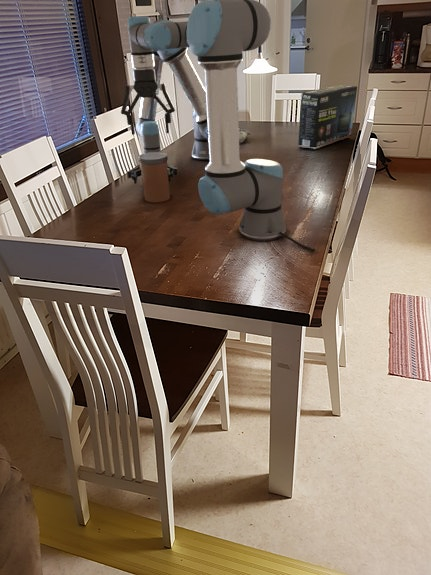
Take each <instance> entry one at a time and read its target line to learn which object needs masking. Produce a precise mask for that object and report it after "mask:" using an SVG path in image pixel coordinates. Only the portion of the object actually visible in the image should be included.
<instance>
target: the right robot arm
mask: <svg viewBox="0 0 431 575" xmlns="http://www.w3.org/2000/svg"><path fill="white" fill-rule="evenodd" d="M271 30H272V19H271V15H270V12H269V11H268V8H266V7H265V5H264V4H263V3H261V2H260V1H257V0H203V1H200V2H198V3H196V4H195V5H194V6H193V7H192V9H191V11H190V13H189V16H188V20H187V21H172V22H167V23H153V22H151V18H150V17H149V16H148V15H147V16H146V15H144V16H141V15H140V16H129V17H128V18H127V32H128V41H129V48H130V56H131V57H130V58H131V65H132V66H131V67H132V68H133V70H132V75H133V85H131V84H126V85H125V95H124V98H123V102H122V107H121V110H120V114H122V115H124V116H126V122H127V125H128V126H130V129H131V136H135V135H136V128H135V122H134V115H133V114H131V113H132V111H133V110H134V108H135V106H136V105H137V104H138V101H139V99H141V97H142V98H146V97H148V98H151V97H154V99H156V101H157V102H158V103H157V104H158V105H159V106H160V107H161V108H162V109H163V111H164V112H165V114H164V121H165V122H164V123H165V132H166V134H169V133H170V128H169V126H170V125H169V124H171V122H172V114H173V113H175V112H176V108H175V105H174V103H173V102H172V99H171V97H170V95H169V93H168V91H167V87H166V83H165V82H163V83H160V84H157V83H156V76H155V70H154V69H153V67H154V54H153V50H154V51H162V50H165V49H176V48H187V49H188V48H189V51H190V52H191V53H192V54H193V55H194V56H196V57H197V63H198V65H199V66H200V67H201V68H202V69H203V71H204V72H203V73H204V74H203V75H204V89H205V90H206V106H207V123H208V139H209V156H210V161H208V163H207V165H205V167H204V172H205V174H204V176H202V177H201V178H200V179H199V181H198V184H197V189H198V190H197V191H198V194H199V197H200V200H201V202H202V204H203V206H204V207H205V209H206V210H207V211H208V212H209V213H211V214H212V215H215V216H219V215H224V214H226V215H227V214H230V213H232V212H236V211H240V210H243V209H244V211H243V213H242V216H241V218H240V219H241V220H240V221H239V226H238V232H239V235H240V236H241V237H242V238H244V239H247V240H250V241H254V242H271V241H277V240H279V239H281V238H283V237H284V238H286V239H288V240H289V241H291V242H292V243H293V244H296V245H297V246H299V247H300V248H304V249H305V250H309V251H311V252H315V251H316V249H315V248H313V247H310V246H308V245H305V244H303V243H300V242H298V241H297V240H296V239H294V238H292V237H291V236H289V235H287V223H286V221H285V216H284V214H283V210H282V200H283V183H284V174H283V173H284V172H283V171H284V169H283V166H282V164H280V162H278V161H274V160H270V159H265V158H250V159H246V160H245V161H244V162H243V161H241V157H240V156H241V155H240V152H241V151H240V144H239V128H240V123H239V122H240V121H239V118H240V117H239V88H238V67H239V66H240V65H241V63H242V62H243V60H244V55H243V52H249V51H253V50H256V49H258V48H260V47H261V46H263V44H265V42H266V41H267V40H268V38H269V36H270V34H271ZM157 88H159V89H160V90H159V91H161V92H162V94H163V96H164V98H165V100H166V103H167V104H168V106H167V104H165V102H164V101H163V100H162V98H161V97H160V96H158V94H157V93H156V90H157ZM133 90H134V92H136V93H137V94H136V95H135V97H134V99H133V101H132V102H131V104H130V106H129V107H128V103H129V99H130V96H131V92H133ZM127 107H128V109H127Z"/></svg>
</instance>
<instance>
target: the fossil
mask: <svg viewBox="0 0 431 575" xmlns="http://www.w3.org/2000/svg"><path fill="white" fill-rule="evenodd" d="M248 135H250V136H251V132H250V130H248V129H245V128H243V129H242V128H240V127H239V141H243V142H245V141H246V140H247V138H248V137H247V136H248ZM245 139H246V140H245ZM244 140H245V141H244ZM241 144H242V142H239V145H241Z"/></svg>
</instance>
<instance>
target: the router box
mask: <svg viewBox="0 0 431 575" xmlns="http://www.w3.org/2000/svg"><path fill="white" fill-rule="evenodd" d="M357 93H358V86H356V85H350V84H339V85H338V84H337V85H334V86H328V87H324V88H318V89H314V90H309V91H304V92H301V93H300V109H299V110H300V111H299V124H298V137H297V146H298V145H302V146H307V147H317V146H320V145H323V144H325V143H328V142H331V141H333V140H336V139H338V138H341V137H344V136H347V135H351V136H352V133H353V132H352V131H353V125H354V115H355V109H356V99H357ZM311 151H313V150H312V149H311Z"/></svg>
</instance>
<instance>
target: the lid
mask: <svg viewBox="0 0 431 575" xmlns="http://www.w3.org/2000/svg"><path fill="white" fill-rule="evenodd" d="M168 158H169V157H168V153H166V152H164V151H163V152H162V151H161V152H149V153H144V152H143V153H142V154H140V155H138V162H139V164H140V163H142V164H159V163H163V162H166V161H167V162H168V160H169V159H168Z"/></svg>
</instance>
